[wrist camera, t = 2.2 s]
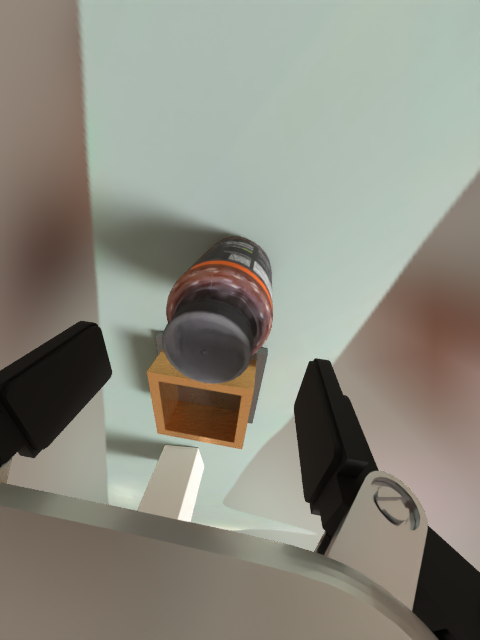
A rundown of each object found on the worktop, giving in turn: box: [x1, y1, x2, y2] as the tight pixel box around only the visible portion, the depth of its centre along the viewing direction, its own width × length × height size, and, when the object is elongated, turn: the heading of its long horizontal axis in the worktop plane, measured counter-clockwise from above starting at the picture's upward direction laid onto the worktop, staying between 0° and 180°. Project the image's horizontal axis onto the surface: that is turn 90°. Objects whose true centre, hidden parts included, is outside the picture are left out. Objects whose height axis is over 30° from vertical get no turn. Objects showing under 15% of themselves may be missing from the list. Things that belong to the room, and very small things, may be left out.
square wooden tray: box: [147, 331, 268, 449], centre depth 24 cm, size 12×12×5 cm
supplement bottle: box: [162, 237, 273, 384], centre depth 14 cm, size 6×6×11 cm
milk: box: [137, 445, 204, 522], centre depth 27 cm, size 6×6×22 cm
